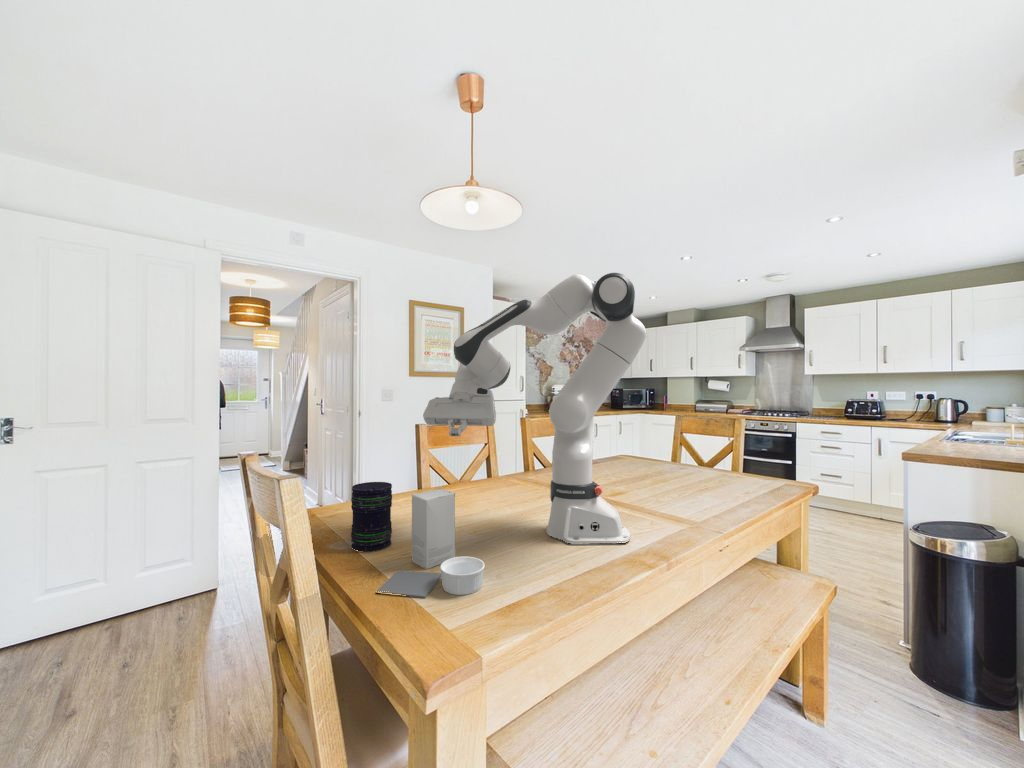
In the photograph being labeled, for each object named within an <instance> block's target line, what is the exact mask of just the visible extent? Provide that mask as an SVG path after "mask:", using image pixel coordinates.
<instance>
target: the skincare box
mask: <svg viewBox="0 0 1024 768" xmlns="http://www.w3.org/2000/svg"><path fill="white" fill-rule="evenodd" d="M454 557H456V492H453V491H450V490H446V489H444V488H437V489H431V490H427V491H422V492H418V493H413V494H411V562H412V563H414V564H416V565H418V566H420V567H421V568H423V569H425V570H429V569H431V568H435V567H437V566H441V564H442V563H443V562H444V561H446V560H448V559H451V558H454Z"/></svg>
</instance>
